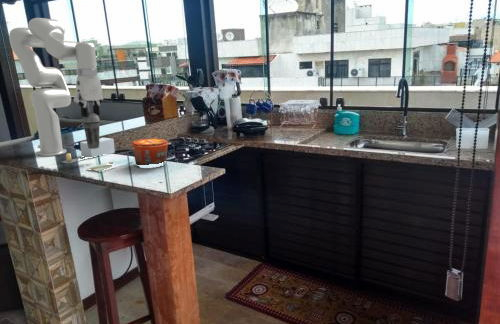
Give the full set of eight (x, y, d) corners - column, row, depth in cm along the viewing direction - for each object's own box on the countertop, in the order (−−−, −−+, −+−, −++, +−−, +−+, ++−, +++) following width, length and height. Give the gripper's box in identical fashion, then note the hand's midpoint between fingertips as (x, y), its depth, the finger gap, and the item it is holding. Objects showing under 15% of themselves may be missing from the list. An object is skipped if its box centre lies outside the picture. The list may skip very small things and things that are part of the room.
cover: (81, 156, 175) (79, 142, 173) (104, 151, 187) (103, 137, 185) (91, 158, 172) (90, 143, 170) (114, 152, 184) (113, 138, 182)
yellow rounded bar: (61, 162, 164) (59, 154, 163) (82, 157, 174) (81, 149, 173) (68, 164, 162) (67, 155, 161) (90, 158, 172) (89, 150, 171)
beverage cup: (106, 146, 165) (102, 101, 160) (95, 150, 158) (91, 103, 153) (92, 145, 167) (88, 101, 161) (81, 148, 160) (76, 102, 155)
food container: (177, 163, 163) (176, 140, 161) (149, 172, 150) (148, 146, 148) (152, 159, 172) (151, 136, 169) (124, 166, 159) (122, 142, 156)
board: (86, 170, 153) (86, 168, 152) (119, 160, 168) (119, 158, 168) (100, 172, 149) (100, 170, 149) (132, 162, 165) (132, 160, 164)
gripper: (76, 74, 145) (80, 119, 150) (109, 73, 160) (112, 114, 164) (63, 73, 148) (67, 117, 153) (97, 72, 163) (100, 112, 168)
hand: (90, 115), depth 159 cm, fingers closed on beverage cup, 5 cm apart
